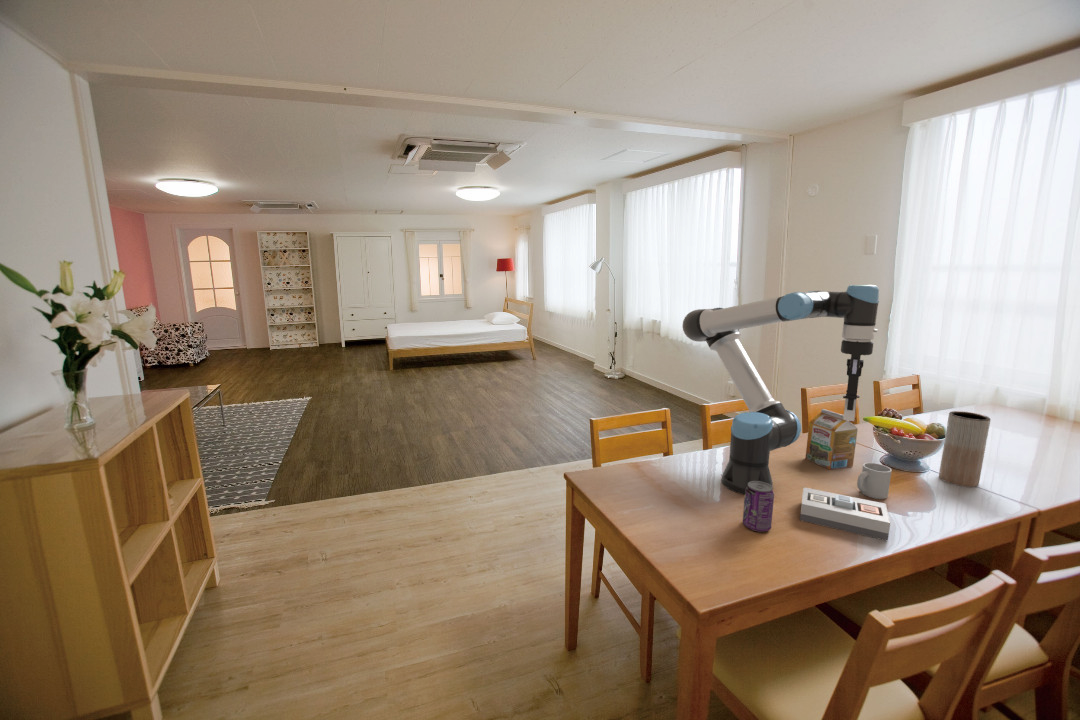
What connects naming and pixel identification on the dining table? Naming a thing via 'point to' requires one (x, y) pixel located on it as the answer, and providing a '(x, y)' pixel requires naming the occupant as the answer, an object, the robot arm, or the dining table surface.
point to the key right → (869, 509)
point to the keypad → (845, 515)
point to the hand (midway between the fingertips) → (848, 419)
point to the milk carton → (831, 440)
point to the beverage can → (758, 506)
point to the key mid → (843, 501)
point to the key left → (818, 499)
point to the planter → (964, 448)
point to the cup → (874, 480)
